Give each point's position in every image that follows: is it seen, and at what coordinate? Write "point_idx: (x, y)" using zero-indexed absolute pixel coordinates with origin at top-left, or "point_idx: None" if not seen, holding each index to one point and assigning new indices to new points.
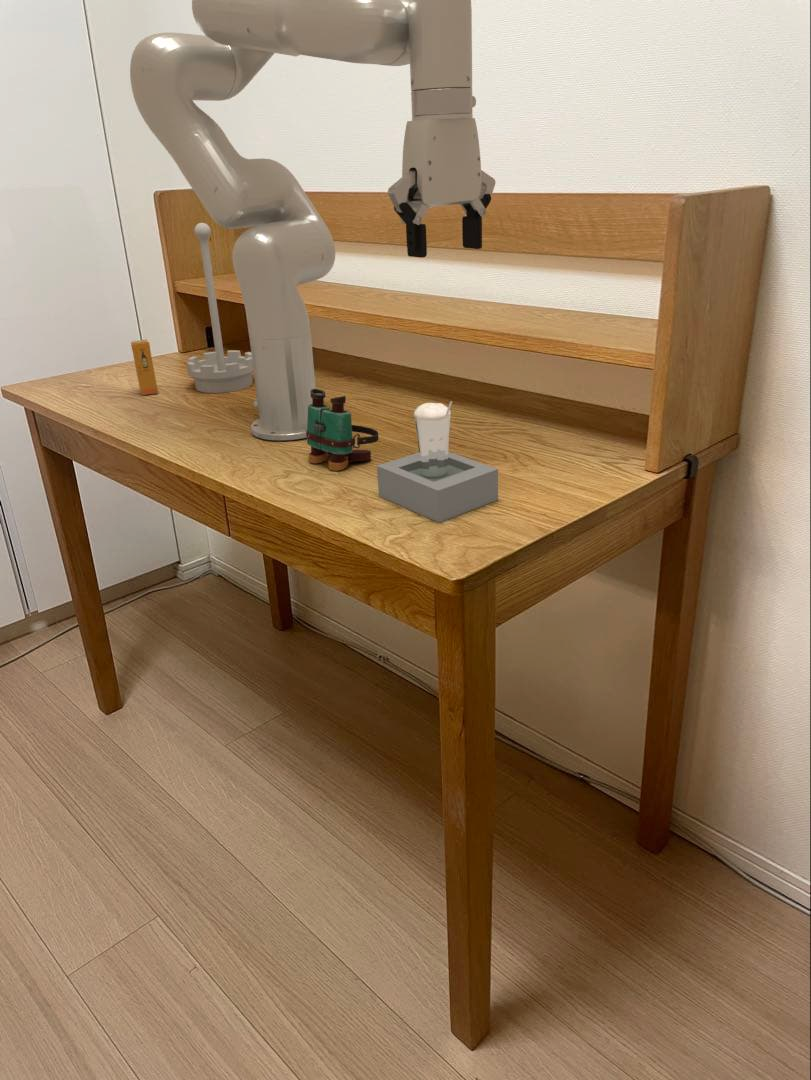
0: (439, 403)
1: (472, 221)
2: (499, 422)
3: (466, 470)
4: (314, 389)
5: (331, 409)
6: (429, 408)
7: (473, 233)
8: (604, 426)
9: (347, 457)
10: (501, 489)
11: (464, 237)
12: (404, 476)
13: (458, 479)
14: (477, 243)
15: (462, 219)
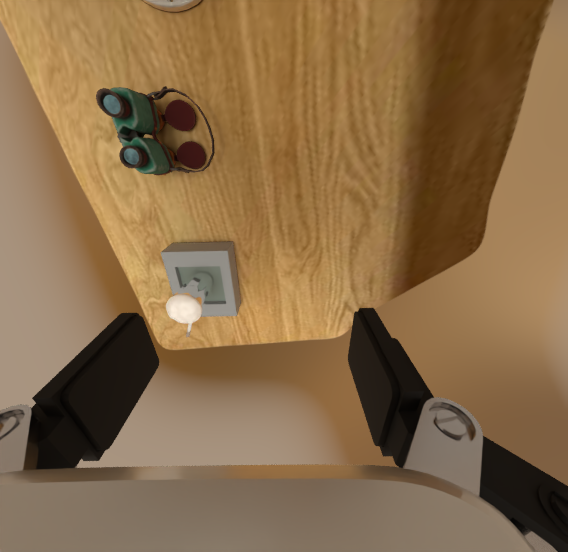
0: (190, 313)
1: (375, 420)
2: (382, 165)
3: (216, 304)
4: (104, 92)
5: (134, 141)
6: (175, 317)
7: (362, 382)
8: (426, 252)
9: (174, 159)
10: (255, 291)
11: (363, 336)
12: (170, 284)
13: (202, 311)
14: (351, 369)
15: (391, 383)
